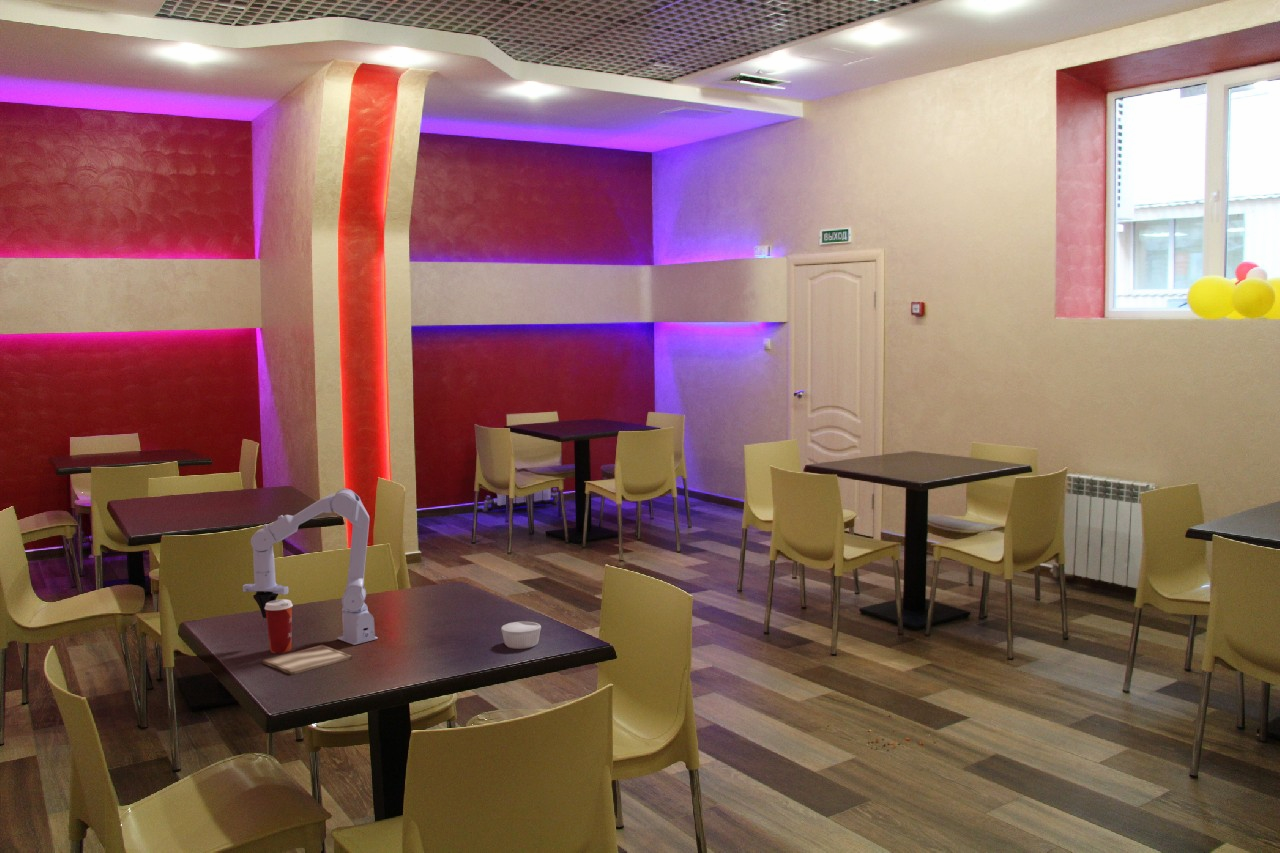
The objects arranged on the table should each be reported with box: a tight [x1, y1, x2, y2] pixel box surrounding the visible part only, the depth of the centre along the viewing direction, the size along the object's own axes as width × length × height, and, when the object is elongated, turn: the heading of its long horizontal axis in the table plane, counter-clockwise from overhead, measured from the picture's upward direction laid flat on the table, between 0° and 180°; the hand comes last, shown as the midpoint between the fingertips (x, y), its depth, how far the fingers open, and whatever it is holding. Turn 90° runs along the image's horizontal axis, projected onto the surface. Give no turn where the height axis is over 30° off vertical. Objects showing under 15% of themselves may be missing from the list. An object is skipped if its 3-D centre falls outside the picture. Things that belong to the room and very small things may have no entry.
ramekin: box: [500, 621, 542, 650], centre depth 299 cm, size 11×11×5 cm
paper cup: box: [264, 598, 294, 654], centre depth 298 cm, size 8×8×14 cm
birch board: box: [262, 644, 353, 676], centre depth 288 cm, size 16×18×1 cm
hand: (267, 617), depth 303 cm, fingers closed
